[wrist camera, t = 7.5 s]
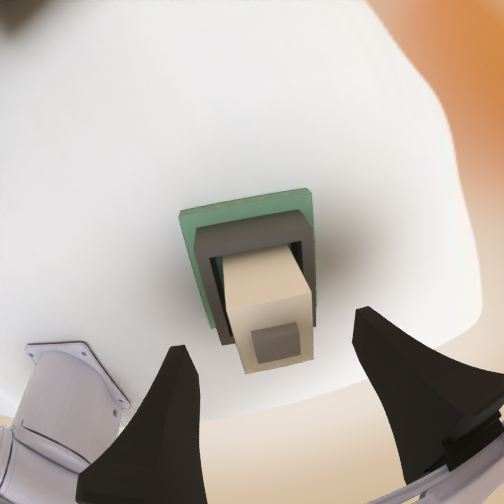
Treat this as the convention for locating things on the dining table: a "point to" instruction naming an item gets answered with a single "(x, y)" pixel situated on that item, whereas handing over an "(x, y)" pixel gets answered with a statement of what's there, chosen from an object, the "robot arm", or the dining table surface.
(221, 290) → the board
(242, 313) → the plug
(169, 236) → the dining table surface
